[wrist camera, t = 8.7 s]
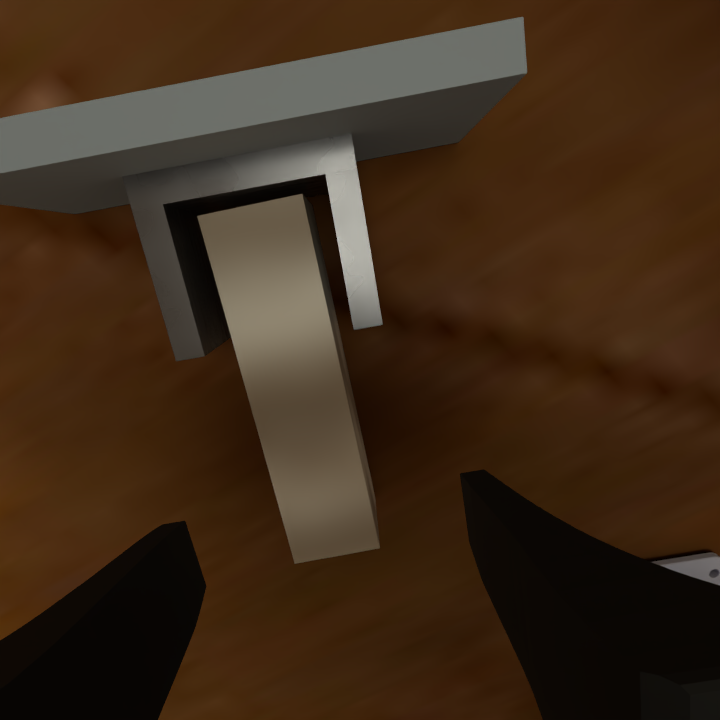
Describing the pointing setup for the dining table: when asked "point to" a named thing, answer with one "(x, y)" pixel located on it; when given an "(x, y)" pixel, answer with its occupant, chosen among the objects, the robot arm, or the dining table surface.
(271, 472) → the rail
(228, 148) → the backboard
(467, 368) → the dining table surface
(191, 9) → the dining table surface
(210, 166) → the bracket
